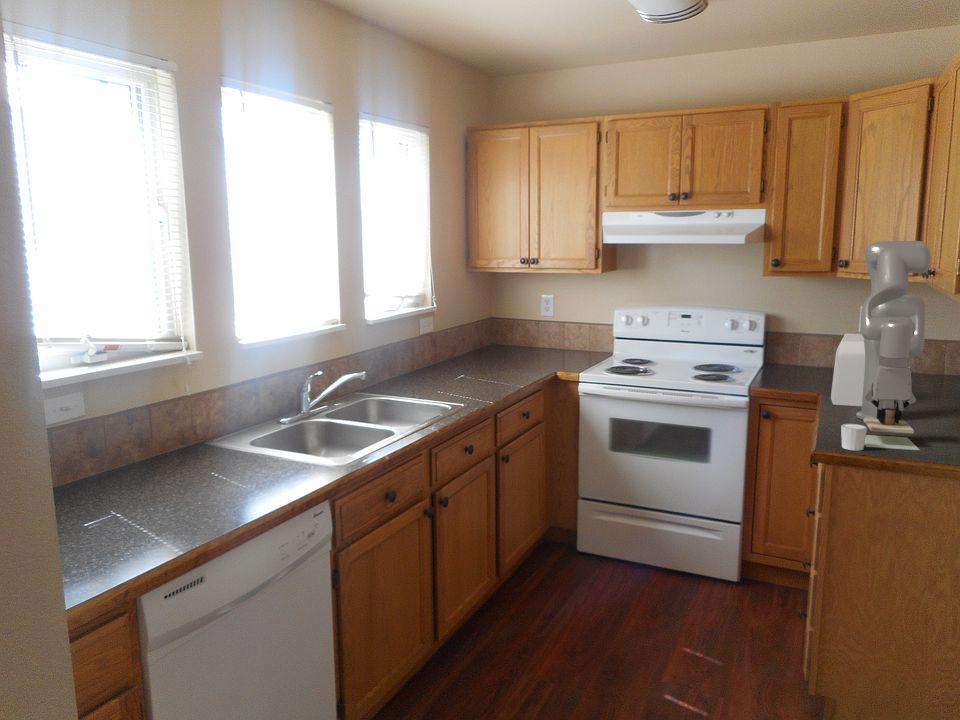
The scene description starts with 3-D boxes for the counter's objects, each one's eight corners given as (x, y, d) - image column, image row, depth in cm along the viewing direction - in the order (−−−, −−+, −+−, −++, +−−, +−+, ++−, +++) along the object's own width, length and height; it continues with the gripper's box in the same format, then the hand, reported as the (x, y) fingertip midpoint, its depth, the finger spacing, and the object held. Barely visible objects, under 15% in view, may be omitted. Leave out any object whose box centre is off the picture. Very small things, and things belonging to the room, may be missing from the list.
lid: (863, 421, 222) (865, 403, 221) (903, 423, 219) (905, 405, 218) (871, 431, 212) (873, 413, 210) (913, 433, 208) (915, 415, 207)
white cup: (842, 444, 214) (844, 422, 213) (868, 448, 210) (869, 425, 209) (836, 450, 209) (838, 426, 208) (862, 454, 205) (864, 430, 204)
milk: (833, 404, 267) (837, 335, 262) (830, 398, 277) (835, 331, 273) (869, 406, 262) (874, 336, 258) (865, 400, 273) (870, 332, 269)
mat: (856, 436, 224) (856, 434, 224) (907, 439, 220) (907, 437, 219) (866, 448, 210) (866, 446, 210) (920, 451, 206) (920, 450, 206)
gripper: (921, 360, 212) (916, 420, 216) (859, 358, 217) (855, 417, 221) (929, 365, 205) (923, 427, 209) (865, 363, 210) (860, 423, 214)
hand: (888, 421), depth 215 cm, fingers closed on lid, 3 cm apart
